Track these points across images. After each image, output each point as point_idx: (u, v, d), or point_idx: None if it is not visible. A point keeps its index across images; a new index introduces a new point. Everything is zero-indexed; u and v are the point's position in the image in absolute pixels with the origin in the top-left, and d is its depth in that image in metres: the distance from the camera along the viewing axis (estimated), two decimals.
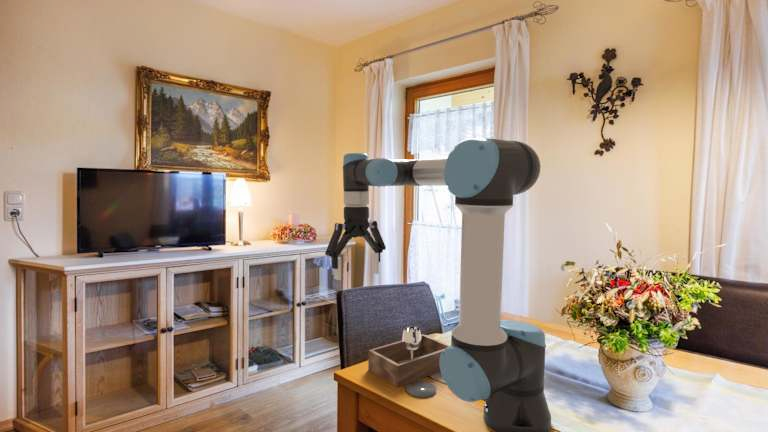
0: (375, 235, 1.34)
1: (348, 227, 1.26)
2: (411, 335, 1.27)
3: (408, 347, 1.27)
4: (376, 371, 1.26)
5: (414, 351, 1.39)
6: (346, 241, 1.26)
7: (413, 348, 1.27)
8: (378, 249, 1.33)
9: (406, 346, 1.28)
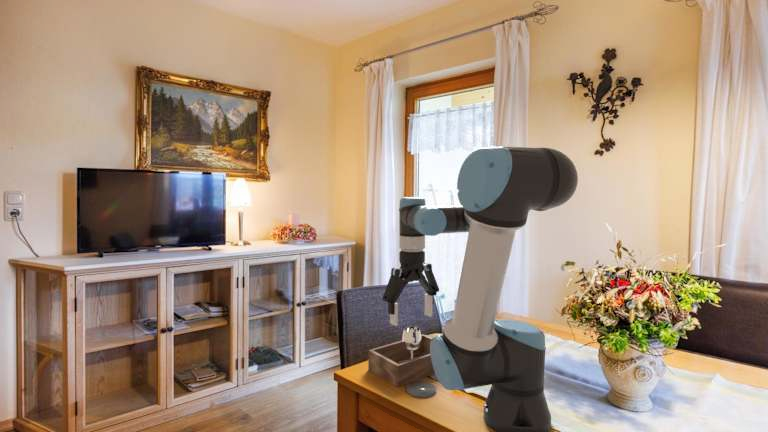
0: (429, 277, 1.32)
1: (405, 272, 1.25)
2: (411, 335, 1.27)
3: (408, 347, 1.27)
4: (376, 371, 1.26)
5: (414, 351, 1.39)
6: (403, 286, 1.25)
7: (413, 348, 1.27)
8: (432, 292, 1.32)
9: (406, 346, 1.28)
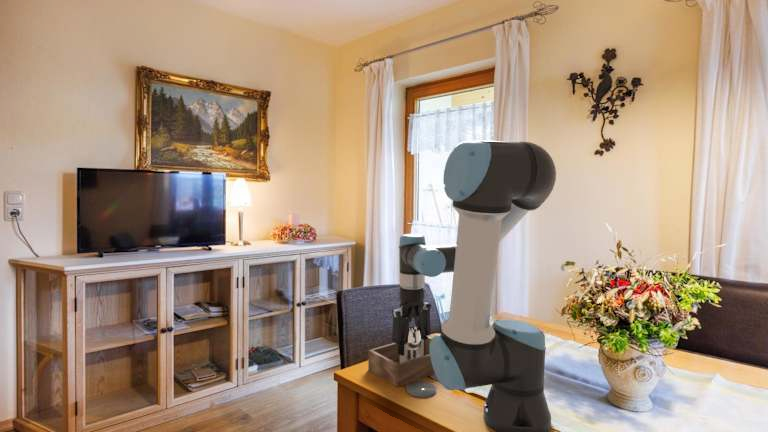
0: (424, 318, 1.32)
1: (405, 310, 1.26)
2: (411, 335, 1.27)
3: (408, 347, 1.27)
4: (376, 371, 1.26)
5: (414, 351, 1.39)
6: (407, 325, 1.27)
7: (413, 348, 1.27)
8: (424, 335, 1.31)
9: None
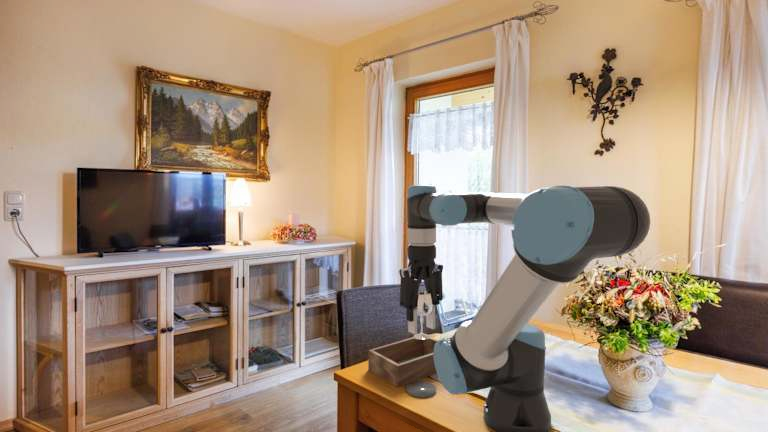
0: (436, 281, 1.18)
1: (414, 269, 1.11)
2: (421, 298, 1.12)
3: (418, 312, 1.13)
4: (376, 371, 1.26)
5: (414, 351, 1.39)
6: (417, 287, 1.12)
7: (423, 313, 1.13)
8: (435, 300, 1.16)
9: None
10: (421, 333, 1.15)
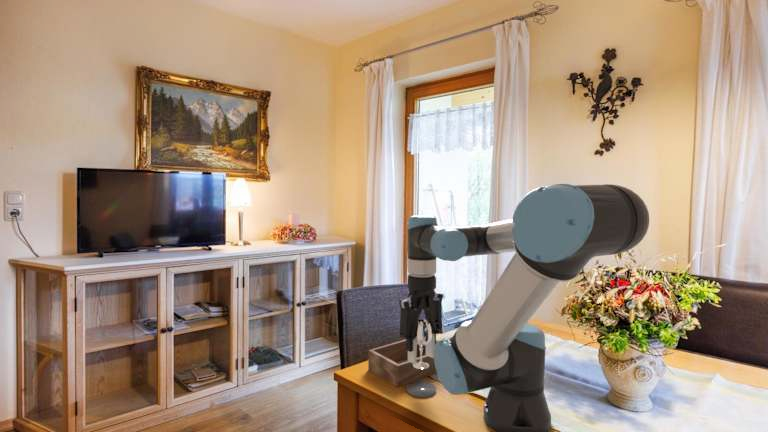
0: (435, 310, 1.18)
1: (414, 300, 1.12)
2: (420, 328, 1.13)
3: (417, 342, 1.13)
4: (376, 371, 1.26)
5: None
6: (417, 318, 1.12)
7: (423, 343, 1.13)
8: (435, 329, 1.17)
9: None
10: (420, 362, 1.16)
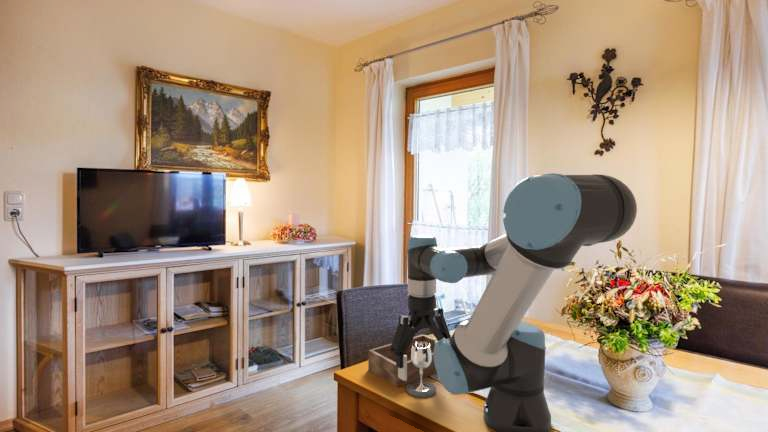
0: (440, 323, 1.19)
1: (414, 320, 1.12)
2: (420, 352, 1.13)
3: (417, 365, 1.13)
4: (376, 371, 1.26)
5: None
6: (412, 336, 1.12)
7: (423, 366, 1.13)
8: None
9: (415, 364, 1.14)
10: (420, 384, 1.16)
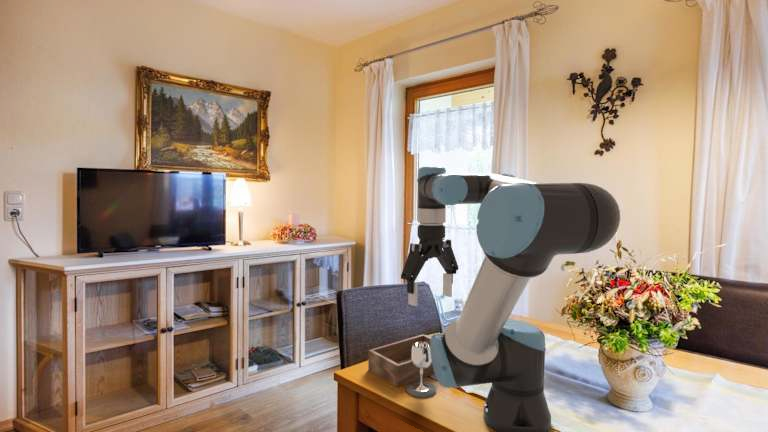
0: (448, 255, 1.23)
1: (424, 247, 1.15)
2: (420, 351, 1.13)
3: (417, 365, 1.14)
4: (376, 371, 1.26)
5: None
6: (422, 263, 1.15)
7: (423, 366, 1.13)
8: (451, 270, 1.23)
9: (415, 364, 1.14)
10: (420, 385, 1.16)
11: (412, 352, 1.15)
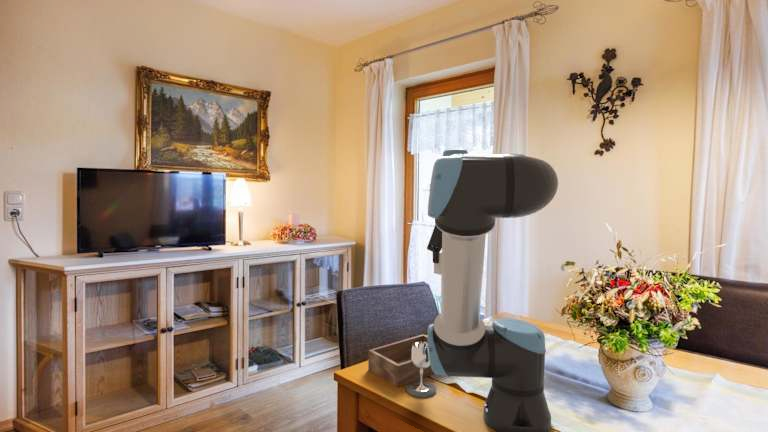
0: None
1: None
2: (420, 351, 1.13)
3: (417, 365, 1.14)
4: (376, 371, 1.26)
5: None
6: None
7: (423, 366, 1.13)
8: None
9: (415, 364, 1.14)
10: (420, 385, 1.16)
11: (412, 352, 1.15)
